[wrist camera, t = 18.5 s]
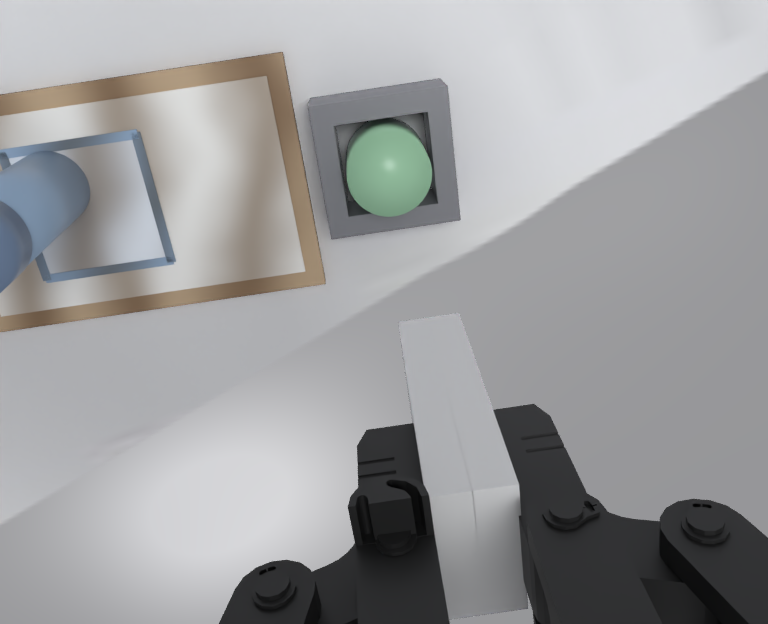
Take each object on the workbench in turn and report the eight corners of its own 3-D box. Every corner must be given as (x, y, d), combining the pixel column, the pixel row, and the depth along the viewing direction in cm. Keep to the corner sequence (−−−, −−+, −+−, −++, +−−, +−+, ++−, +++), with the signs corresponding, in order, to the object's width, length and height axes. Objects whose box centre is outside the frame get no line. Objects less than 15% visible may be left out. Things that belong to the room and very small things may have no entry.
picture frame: (-5, 329, 43) (-11, 335, 43) (-95, 109, 38) (-103, 111, 37) (325, 280, 43) (325, 285, 42) (282, 51, 38) (281, 53, 37)
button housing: (332, 222, 42) (331, 239, 39) (310, 98, 39) (307, 106, 36) (452, 204, 41) (460, 220, 39) (440, 78, 38) (447, 85, 36)
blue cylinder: (27, 229, 40) (-73, 313, 30) (0, 156, 38) (-116, 220, 28) (100, 217, 40) (23, 298, 30) (77, 144, 38) (-13, 204, 28)
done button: (352, 200, 40) (353, 222, 36) (340, 124, 38) (340, 139, 35) (427, 189, 40) (436, 210, 36) (419, 112, 38) (427, 126, 35)
